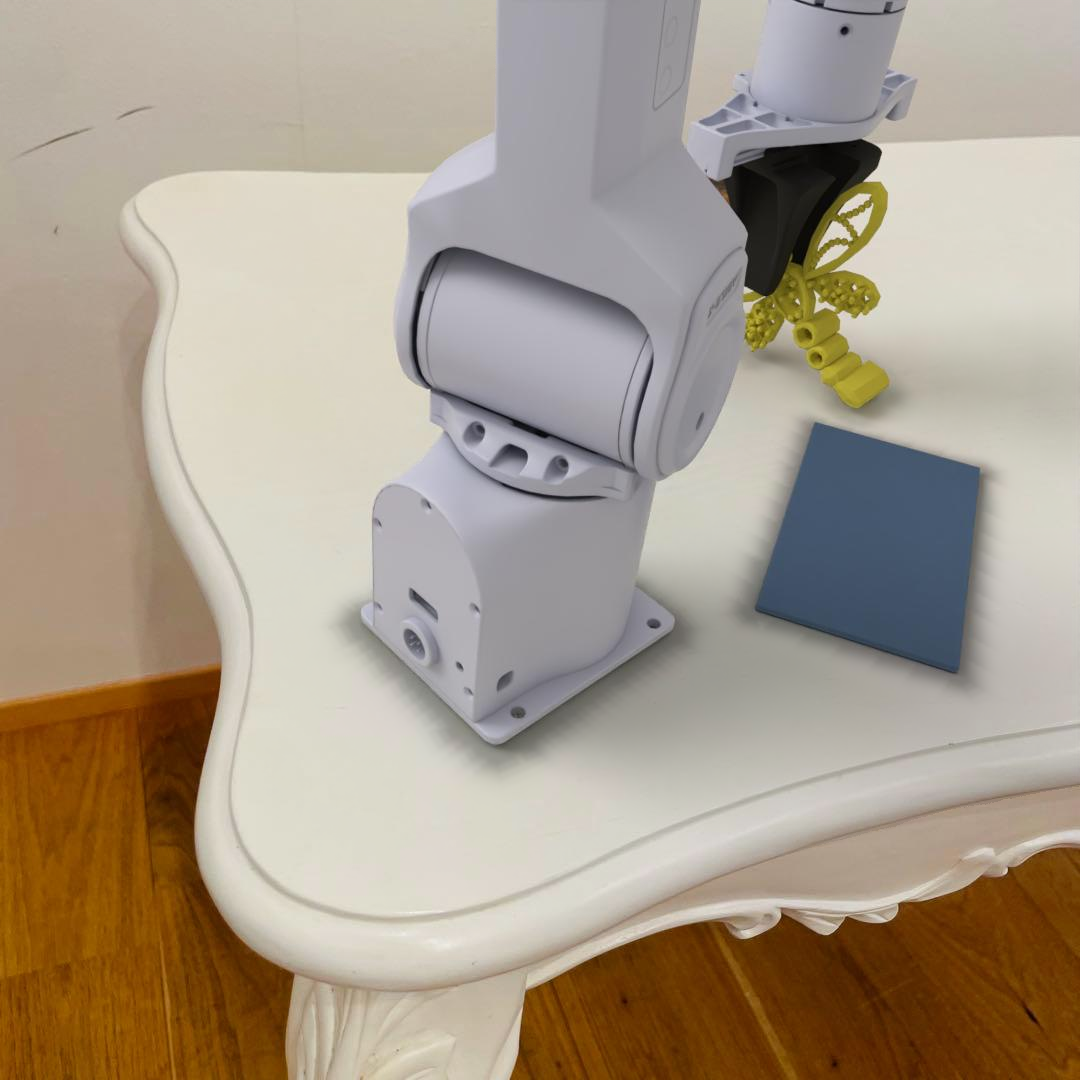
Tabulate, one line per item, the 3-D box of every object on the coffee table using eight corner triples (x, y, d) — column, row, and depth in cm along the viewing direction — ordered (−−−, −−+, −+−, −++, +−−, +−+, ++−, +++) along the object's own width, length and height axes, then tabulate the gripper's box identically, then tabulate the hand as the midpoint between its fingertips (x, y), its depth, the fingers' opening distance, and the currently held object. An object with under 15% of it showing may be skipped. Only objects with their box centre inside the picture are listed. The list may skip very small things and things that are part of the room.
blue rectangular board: (956, 673, 42) (959, 668, 42) (754, 609, 44) (756, 604, 44) (978, 472, 53) (980, 467, 52) (813, 426, 54) (815, 421, 54)
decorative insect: (737, 439, 61) (666, 270, 59) (770, 417, 63) (702, 252, 61) (946, 387, 51) (868, 180, 49) (978, 362, 53) (904, 162, 51)
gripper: (859, -49, 53) (790, 217, 62) (655, -12, 45) (610, 287, 54) (989, -8, 49) (896, 268, 58) (791, 40, 41) (719, 351, 50)
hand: (766, 281), depth 56 cm, fingers closed on decorative insect
